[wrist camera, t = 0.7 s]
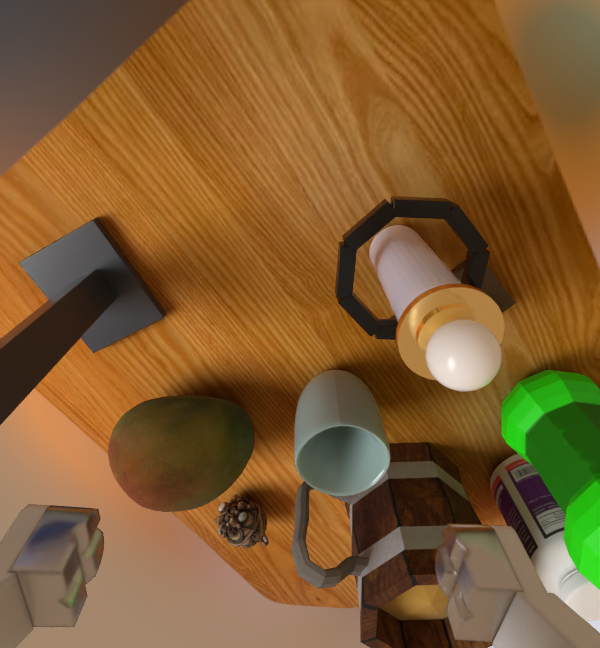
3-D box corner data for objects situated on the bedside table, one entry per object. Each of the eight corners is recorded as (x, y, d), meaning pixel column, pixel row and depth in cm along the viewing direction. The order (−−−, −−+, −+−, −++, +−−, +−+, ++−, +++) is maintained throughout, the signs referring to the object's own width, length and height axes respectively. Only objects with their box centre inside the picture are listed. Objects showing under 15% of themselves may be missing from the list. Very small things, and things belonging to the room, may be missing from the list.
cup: (330, 343, 43) (339, 407, 34) (388, 386, 45) (410, 457, 36) (280, 395, 46) (275, 467, 37) (337, 433, 48) (346, 510, 39)
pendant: (238, 477, 51) (233, 514, 46) (285, 513, 53) (284, 551, 49) (208, 499, 52) (200, 536, 48) (255, 533, 55) (251, 571, 50)
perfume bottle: (362, 283, 40) (414, 429, 23) (358, 219, 38) (413, 327, 20) (427, 276, 40) (531, 418, 22) (428, 211, 38) (545, 313, 20)
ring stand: (306, 245, 39) (307, 275, 32) (407, 155, 36) (432, 167, 29) (418, 364, 44) (439, 411, 38) (515, 295, 41) (556, 333, 34)
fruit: (111, 401, 46) (66, 474, 37) (210, 344, 43) (187, 408, 34) (183, 473, 50) (158, 554, 42) (277, 426, 48) (272, 502, 39)
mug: (482, 459, 50) (550, 592, 36) (425, 538, 55) (466, 678, 42) (316, 409, 47) (323, 534, 33) (273, 497, 52) (265, 635, 39)
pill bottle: (525, 509, 53) (598, 640, 40) (471, 484, 51) (530, 613, 38) (575, 463, 50) (671, 589, 37) (519, 435, 48) (601, 558, 35)
